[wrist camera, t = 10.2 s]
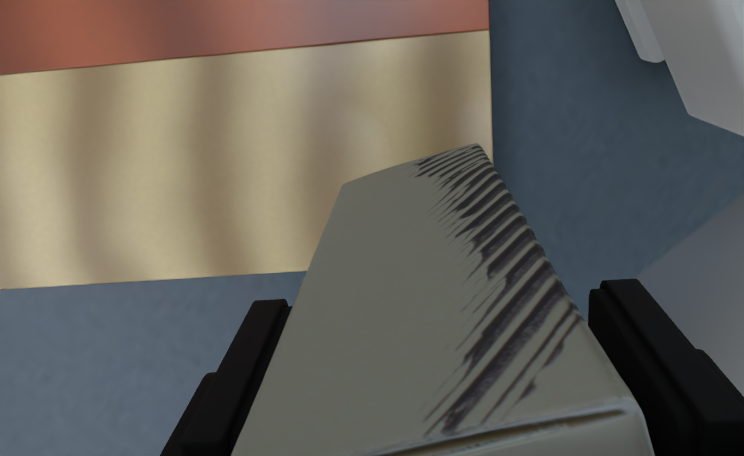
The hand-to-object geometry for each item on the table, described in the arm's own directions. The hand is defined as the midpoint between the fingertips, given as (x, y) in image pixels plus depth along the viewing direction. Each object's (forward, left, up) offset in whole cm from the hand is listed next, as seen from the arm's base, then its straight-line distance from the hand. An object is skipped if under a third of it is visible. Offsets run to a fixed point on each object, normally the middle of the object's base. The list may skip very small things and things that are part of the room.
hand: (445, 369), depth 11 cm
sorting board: (+9, -5, -18) cm, 21 cm away
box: (0, 0, -8) cm, 8 cm away
